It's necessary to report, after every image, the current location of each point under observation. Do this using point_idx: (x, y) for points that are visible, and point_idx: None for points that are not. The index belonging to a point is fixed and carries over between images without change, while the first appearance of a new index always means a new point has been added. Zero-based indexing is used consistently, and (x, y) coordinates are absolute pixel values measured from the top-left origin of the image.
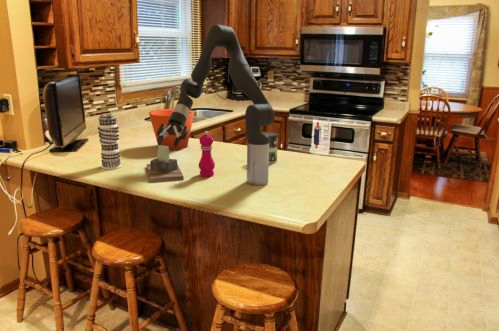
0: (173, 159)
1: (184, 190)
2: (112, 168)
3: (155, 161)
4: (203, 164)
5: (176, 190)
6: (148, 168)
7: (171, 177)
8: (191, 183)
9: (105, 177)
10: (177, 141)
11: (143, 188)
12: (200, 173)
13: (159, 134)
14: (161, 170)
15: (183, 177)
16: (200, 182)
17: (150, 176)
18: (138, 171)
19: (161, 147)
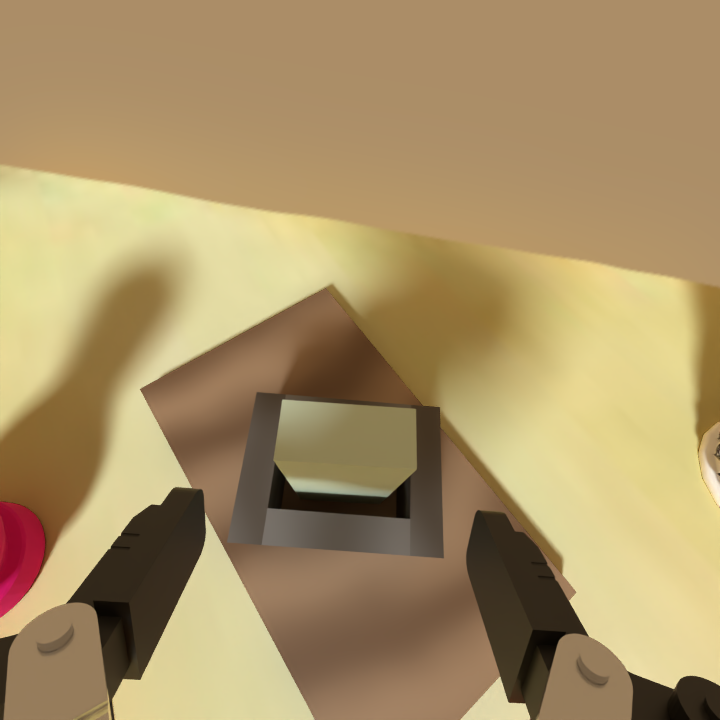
0: (264, 532)
1: (98, 251)
2: (709, 432)
3: (389, 406)
4: None
5: (140, 241)
6: (469, 470)
7: (215, 348)
8: (81, 351)
9: (593, 296)
10: (116, 548)
11: (310, 224)
12: (22, 514)
13: (617, 665)
14: None
15: (144, 392)
16: (22, 385)
17: (348, 322)
18: (526, 453)
19: (355, 408)
